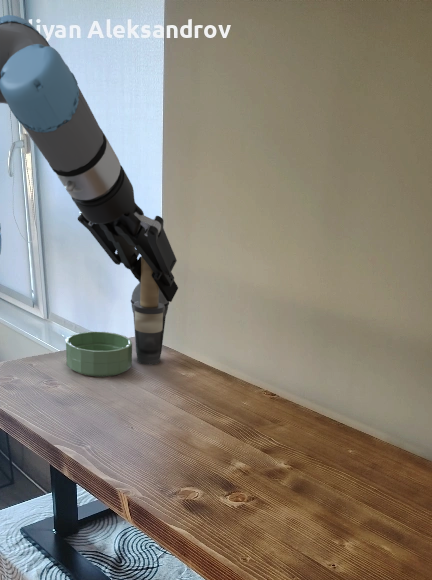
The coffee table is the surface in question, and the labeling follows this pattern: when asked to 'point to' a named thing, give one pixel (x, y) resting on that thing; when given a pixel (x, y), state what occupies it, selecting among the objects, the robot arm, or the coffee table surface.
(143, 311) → the dowel on round base
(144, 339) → the beverage cup
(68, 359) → the bowl
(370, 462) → the coffee table surface
